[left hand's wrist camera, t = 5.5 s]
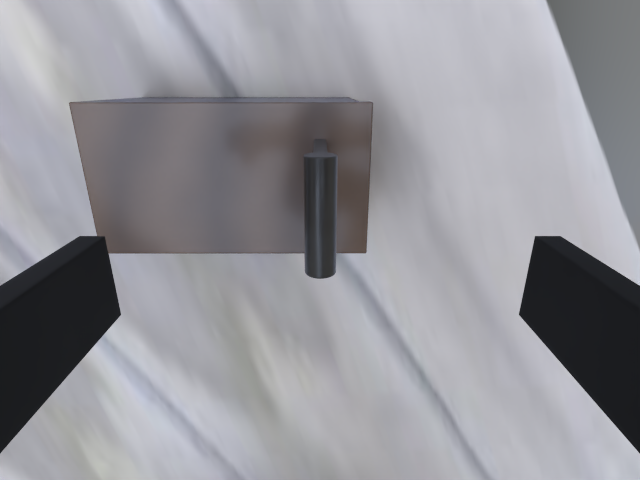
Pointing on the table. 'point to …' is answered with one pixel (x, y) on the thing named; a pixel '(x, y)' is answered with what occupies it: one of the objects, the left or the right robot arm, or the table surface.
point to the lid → (229, 177)
